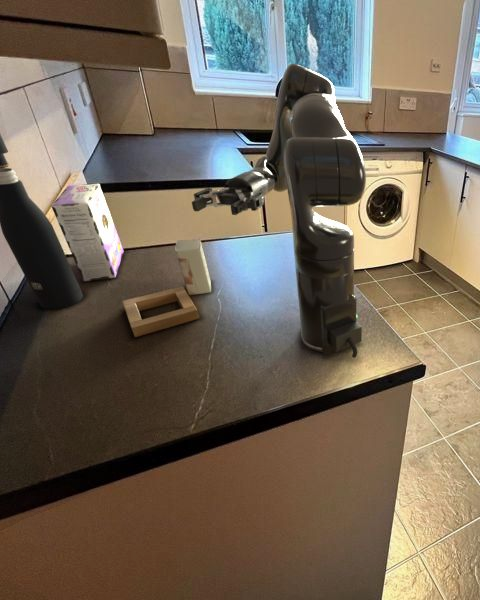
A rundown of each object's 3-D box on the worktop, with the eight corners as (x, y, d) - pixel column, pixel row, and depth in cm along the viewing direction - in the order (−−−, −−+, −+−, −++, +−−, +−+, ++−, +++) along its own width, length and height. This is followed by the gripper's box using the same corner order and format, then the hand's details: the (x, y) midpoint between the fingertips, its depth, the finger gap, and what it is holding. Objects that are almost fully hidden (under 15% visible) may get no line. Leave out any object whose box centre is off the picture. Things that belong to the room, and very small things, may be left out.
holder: (199, 318, 70) (197, 309, 69) (135, 337, 64) (131, 328, 63) (185, 294, 76) (182, 286, 75) (125, 309, 71) (122, 300, 70)
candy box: (95, 255, 88) (66, 184, 80) (125, 251, 91) (100, 182, 82) (82, 282, 78) (48, 204, 69) (116, 278, 80) (87, 201, 71)
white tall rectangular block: (188, 284, 80) (176, 239, 75) (211, 281, 81) (201, 237, 76) (187, 296, 76) (174, 250, 71) (211, 293, 77) (200, 248, 72)
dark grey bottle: (84, 288, 76) (13, 126, 60) (81, 304, 71) (4, 133, 55) (43, 295, 73) (-43, 126, 57) (37, 312, 68) (-58, 133, 52)
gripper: (217, 171, 93) (177, 188, 79) (273, 176, 92) (243, 194, 78) (222, 201, 97) (185, 222, 83) (276, 206, 96) (248, 228, 82)
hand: (213, 208), depth 81 cm, fingers open, 8 cm apart
